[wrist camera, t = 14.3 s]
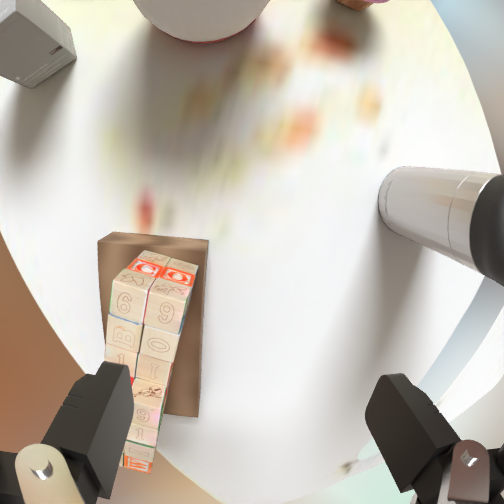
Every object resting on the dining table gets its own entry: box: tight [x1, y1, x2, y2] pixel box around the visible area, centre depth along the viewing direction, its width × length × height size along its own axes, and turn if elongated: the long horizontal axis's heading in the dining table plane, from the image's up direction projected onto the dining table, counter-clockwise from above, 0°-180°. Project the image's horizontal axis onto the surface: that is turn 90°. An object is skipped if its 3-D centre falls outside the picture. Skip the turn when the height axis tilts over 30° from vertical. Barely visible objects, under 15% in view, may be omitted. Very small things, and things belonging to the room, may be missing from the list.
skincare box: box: [0, 0, 77, 89], centre depth 19 cm, size 8×7×16 cm
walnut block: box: [98, 232, 208, 417], centre depth 36 cm, size 12×24×5 cm, turn 173°
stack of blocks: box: [105, 250, 198, 474], centre depth 27 cm, size 21×6×12 cm, turn 162°
